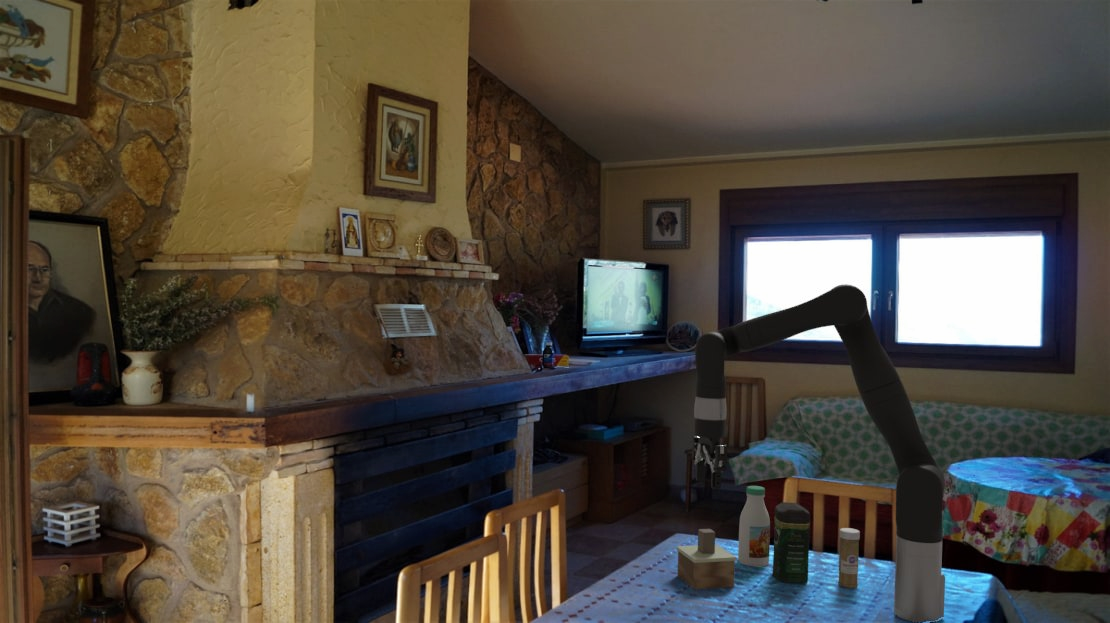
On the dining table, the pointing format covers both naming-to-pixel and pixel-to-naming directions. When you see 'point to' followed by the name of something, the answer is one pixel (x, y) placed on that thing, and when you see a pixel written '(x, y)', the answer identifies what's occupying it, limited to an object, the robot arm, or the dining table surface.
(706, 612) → the dining table surface
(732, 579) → the box
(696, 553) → the lid
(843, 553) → the sprinkles bottle
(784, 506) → the coffee jar
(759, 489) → the milk bottle
